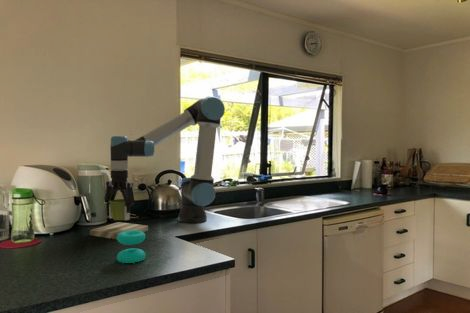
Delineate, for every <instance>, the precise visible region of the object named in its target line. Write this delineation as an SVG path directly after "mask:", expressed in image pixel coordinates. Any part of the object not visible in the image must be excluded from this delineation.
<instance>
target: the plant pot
mask: <svg viewBox="0 0 470 313" xmlns="http://www.w3.org/2000/svg"><path fill="white" fill-rule="evenodd" d="M109 203H110V205H111V210H112V216H113V218H112V219H113V221H126V220H125V216H124V206H125V205H126V204H125V201H124V198H115V199H114V200H113V201H109Z"/></svg>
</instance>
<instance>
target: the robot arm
mask: <svg viewBox="0 0 470 313" xmlns="http://www.w3.org/2000/svg"><path fill="white" fill-rule="evenodd" d="M224 115H225V104H224V102H223V101H222V100H221V99H220V98H219V97H216V96H206V97H204V98H201V99H198V100H197V101H195V102H193V104H191V105H190V106H189V107H187V108H185V109H184V110H183V112H182V113H180V114H178V115H177V116H175V117H173V118H172V119H170V120H168V121H166V122H164V123H162V124H160V125H159V126H158V127H155V128H154V129H152V130H151V131H149V132H147V133H146V134H143V135H142V136H140V137H138V138H137V139H135V140H129V139H128V138H129V137H128V135H127V136H126V135H112V136H111V138H110V179H111V180H109V181H106V182H105V184H106V187H105V193H104V194H105V195H104V203H107V210H108V213H109V214H108V218H109V219H113V216H112V210H111V205H110V203H109V201H113V200H115V199H116V197H117V193H118V191H119V192H120V193H121V195H122V197H123V198H122V199H124V201H125V204H126V205H125V206H124V216H125V220H124V221H129V220H130V219H131V218H130V217H131V211H132V205H135V204H136V203H135V195H134V190H133V185H134V184H133V182H128V177H129V176H128V175H129V173H128V172H129V171H128V170H127V169H128V168H129V167H128V166H129V165H128V164H129V162H128V160H129V157H130V158H131V157H139V158H140V157H146V158H148V157H152V156H154V154H155V147H156V146H157V145H159V144H161V143H162V142H164V141H166V140H167V139H169V138H171V137H173V136H174V135H177V134H178V133H180V132H181V131H183V130H185V129H186V128H189V127H190V126H194V127H195V125H198V136H197V145H196V154H195V163H194V171H193V174H192V175H191V176H190V177H184V178H182V179H181V182H180V183H181V184H180V190H181V192H180V193H181V206H180V210H179V213H178V216H177V217H178V218H177V222H179V223H183V224H200V223H205V222H206V221H207V218H208V216H207V212H206V211H205V206H208V205H211V204H212V203H213V201H214V200H215V198H216V189H215V187H214V181H215V179H214V178H213V176H212V174H213V173H212V172H213V170H212V169H213V163H214V154H215V146H216V145H215V144H216V135H217V128H218V127H220V126H221V119H222V117H223V116H224Z"/></svg>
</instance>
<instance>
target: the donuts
mask: <svg viewBox="0 0 470 313" xmlns="http://www.w3.org/2000/svg"><path fill="white" fill-rule="evenodd" d="M145 239H146V232H142V231H138V230H130V231H124V232H121V233H119V234H118V235H117V239H116V241H117V242H118V243H120V244H122V245H127V246H131V245H133V246H134V245H137V244H141V243H142V242H144V241H145ZM146 256H147V255H146V252H145V251H144V250H143V249H142V248H141V249H140V248H126V249H123V250H121V251H119V252H118V253H117V255H116V260H117V262H119V263H121V262H122V263H121V264H124V263H133V264H136V263H135V262H138V263H140V262H139V261H141V262H143V261H144V260H145V259H146ZM142 260H143V261H142Z"/></svg>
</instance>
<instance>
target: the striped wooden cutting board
mask: <svg viewBox="0 0 470 313" xmlns="http://www.w3.org/2000/svg"><path fill="white" fill-rule="evenodd" d="M130 230H138V231H142V232H144V233H146V231H147V232H148V231H149V225H145V224H139V223H138V224H136V223H129V222H121V221H119V222H118V221H117V222H114V223H110V224H107V225H104V226H99V227H97V228H93V229H90V232H89V234H90V236H94V237H99V238H105V239H111V238H112V240H117V235H118V234H119V233H121V232H124V231H130Z"/></svg>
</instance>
